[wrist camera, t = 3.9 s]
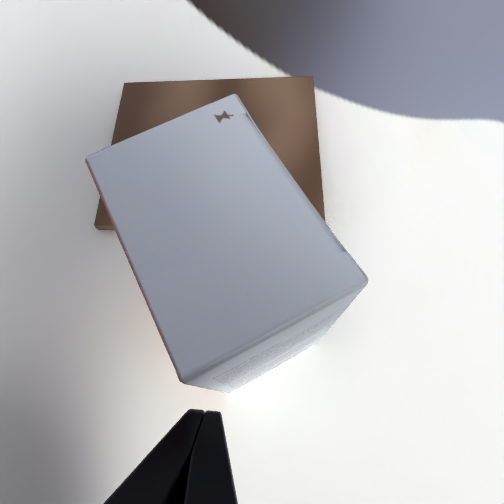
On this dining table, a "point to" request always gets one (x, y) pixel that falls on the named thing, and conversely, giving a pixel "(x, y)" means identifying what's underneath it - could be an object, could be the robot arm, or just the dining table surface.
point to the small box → (223, 245)
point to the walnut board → (258, 106)
